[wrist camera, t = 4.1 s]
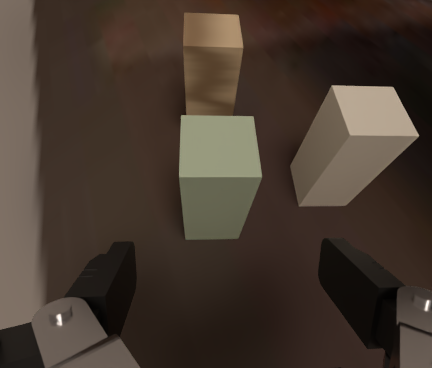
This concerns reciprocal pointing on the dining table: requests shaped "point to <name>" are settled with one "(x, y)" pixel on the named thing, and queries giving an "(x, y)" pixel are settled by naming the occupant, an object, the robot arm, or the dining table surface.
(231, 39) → the oak block
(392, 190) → the dining table surface
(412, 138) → the cream block
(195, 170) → the sage block
